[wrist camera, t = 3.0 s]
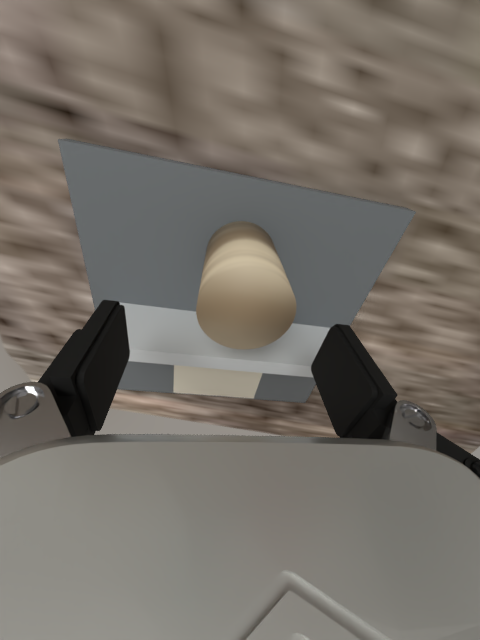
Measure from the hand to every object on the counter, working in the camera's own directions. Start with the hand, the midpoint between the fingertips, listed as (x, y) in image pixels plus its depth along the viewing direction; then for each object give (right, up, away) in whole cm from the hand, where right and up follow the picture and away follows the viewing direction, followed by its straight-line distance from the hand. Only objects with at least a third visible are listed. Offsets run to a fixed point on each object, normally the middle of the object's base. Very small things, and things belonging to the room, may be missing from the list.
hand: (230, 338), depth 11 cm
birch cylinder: (+1, +5, +7) cm, 8 cm away
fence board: (-1, +1, +11) cm, 11 cm away
